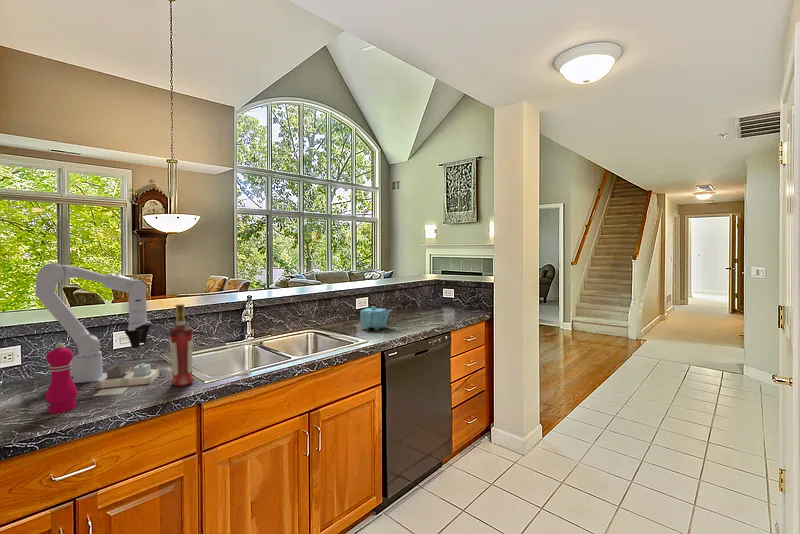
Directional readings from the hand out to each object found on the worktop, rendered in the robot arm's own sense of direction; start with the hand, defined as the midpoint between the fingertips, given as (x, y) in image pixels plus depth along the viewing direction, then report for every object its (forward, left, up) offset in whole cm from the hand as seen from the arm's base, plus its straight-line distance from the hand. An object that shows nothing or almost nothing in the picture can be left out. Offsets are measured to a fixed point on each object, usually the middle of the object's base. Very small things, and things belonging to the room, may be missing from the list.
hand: (139, 345), depth 152 cm
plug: (+5, -14, -10) cm, 18 cm away
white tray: (+1, -14, -10) cm, 17 cm away
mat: (-1, -24, -10) cm, 26 cm away
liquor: (+20, -23, -10) cm, 32 cm away
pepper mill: (-9, -36, -10) cm, 38 cm away
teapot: (+107, +47, -10) cm, 117 cm away
